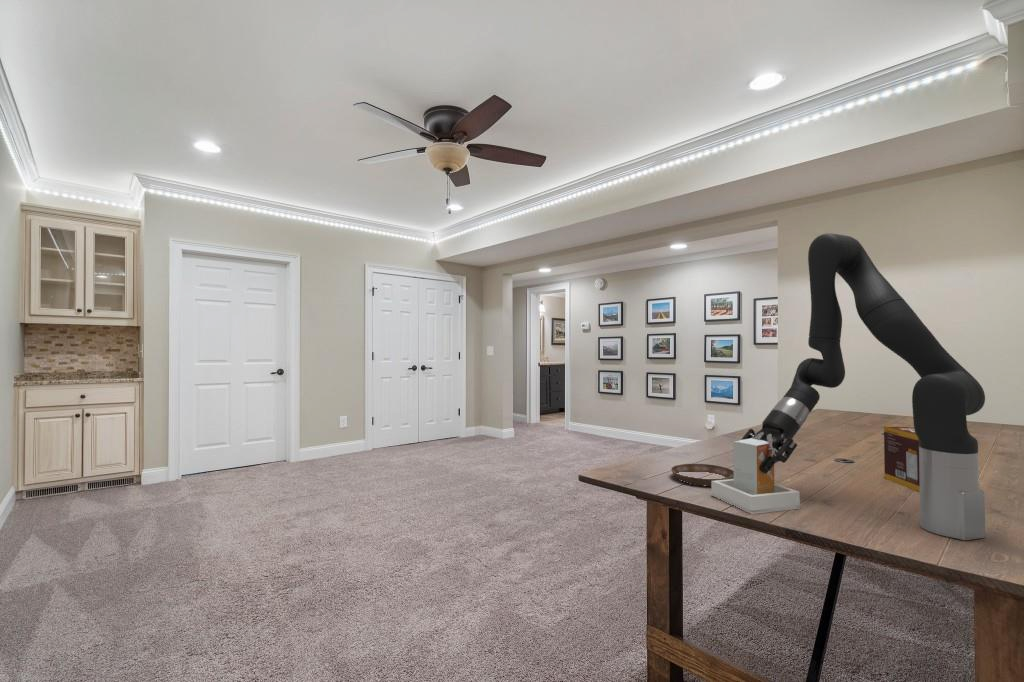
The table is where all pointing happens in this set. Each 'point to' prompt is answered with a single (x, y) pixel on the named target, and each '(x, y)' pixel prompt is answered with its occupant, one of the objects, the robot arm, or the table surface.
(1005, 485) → the table surface
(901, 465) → the supplement box
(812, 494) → the table surface
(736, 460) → the small box
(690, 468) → the brown round ring
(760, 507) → the grey basin
